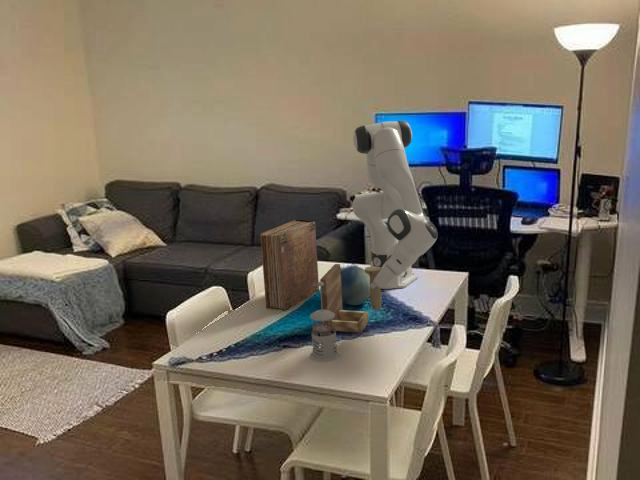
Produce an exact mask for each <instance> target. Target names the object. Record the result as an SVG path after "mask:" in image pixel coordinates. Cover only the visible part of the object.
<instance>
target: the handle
mask: <svg viewBox="0 0 640 480" xmlns="http://www.w3.org/2000/svg"><path fill="white" fill-rule="evenodd" d="M381 269H382V267H376V266H372V267H370V266H367V267H365V268H364V270H365V273H367V274H368V275H369V277H370V284H371V283H372V282H373V280H374V279H375V277H376V276H377V274H378V273H379V272H380V271H381ZM369 298H370V304H371V309H372V310H374V311H377V310H378V311H380V310H381V309H382V291H381V288H379V287H378V286H376V287H375V288H374V289H372V288H371V287H370V297H369Z"/></svg>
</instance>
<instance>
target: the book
mask: <svg viewBox="0 0 640 480" xmlns="http://www.w3.org/2000/svg"><path fill="white" fill-rule="evenodd" d="M259 235H260V236H259V237H260V249H261V259H262V260H261V261H262V263H261V264H262V271H263V274H262V275H263V286H264V296H265V297H264V298H265V308H266V309H269V308H274V309H279V310H280V309H281V310H284V311H285V312H287V311H289V310H291V309H292V308H294V307H296V306H297V305H298V304H300V303H302V302H303V301H306V299H309V298H310V297H312V296H313V295H315V294H316V293H318V292H320V286H318V283H319V282H320V279H319V267H318V265H319V264H318V263H319V262H318V253H317V252H318V249H317V234H316V222H315V220H306V219H305V220H303V219H294V220H291V221H289V222H287V223H284V224H282V225H279V226H276V227H275V228H272V229H269V230H266V231H264V232H262V233H260V234H259Z"/></svg>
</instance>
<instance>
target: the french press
mask: <svg viewBox="0 0 640 480" xmlns="http://www.w3.org/2000/svg"><path fill="white" fill-rule="evenodd" d="M323 285H324V284H323V282H320V281H319V283H318V286H319V290H321V286H323ZM320 301H321V303H320V304H321V305H320V306H322V292H321V291H320ZM334 317H335V313H333V312H331V311H329V310H323V309H322V308H321V309H318V310H315V311H314V312H312V313H311V314H310V316H309V318H310V319H311V320H312V321H316V324H313V325H312V328H311V329H312V330H311V343H312V345H311V346H312V347H311V348H312V352H311V353H310V355H309V358H310V359H311V360H313V361H316V362H318V363H319V362H321V363H327V362H332V361H335V360H337V359H338V358H339V357H340V355H341V353H340V352H339V350H338V348H337V331H335V329H334V325H332V324H329V323H323V321H329V320H332V319H333V318H334ZM319 322H320V323H319ZM321 322H322V323H321ZM329 331H331V332H330V333H328V332H329ZM319 334H320V335H319Z"/></svg>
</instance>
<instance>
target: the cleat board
mask: <svg viewBox="0 0 640 480" xmlns="http://www.w3.org/2000/svg"><path fill="white" fill-rule="evenodd" d="M341 271H342V270H341V263H335V264H333V265H332V266H331V267H330V269H329V270H328V271H327V272H326V273H325V274H323V276H322V277H321V278H320V279H319V282H323V284H324V285H323V286H321V289H320V293H321V292H322V305H321V310H322V309H323V310H329V311H331V312H333V313H335V317H334V318H333V319H332V320H329V321H322V323H329V324H332V325H334V329H335V331H336V332H346V333H347V332H349V333H350V332H351V333H362V332H363V330H364V329H365V328H366V326H367V324H368V322H370V321H369V318H370V317H369V316H370V315H369V311H361V310H347V309H346V310H345V309H343V302H342V289H341ZM328 333H332V331H329V332H328Z"/></svg>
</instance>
